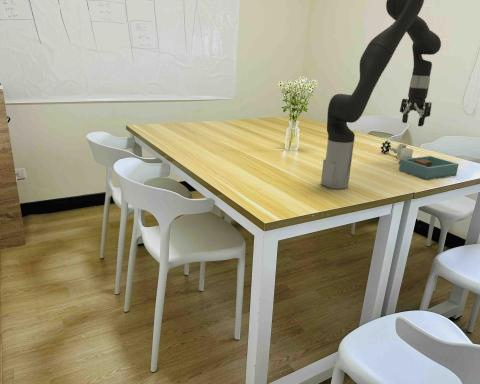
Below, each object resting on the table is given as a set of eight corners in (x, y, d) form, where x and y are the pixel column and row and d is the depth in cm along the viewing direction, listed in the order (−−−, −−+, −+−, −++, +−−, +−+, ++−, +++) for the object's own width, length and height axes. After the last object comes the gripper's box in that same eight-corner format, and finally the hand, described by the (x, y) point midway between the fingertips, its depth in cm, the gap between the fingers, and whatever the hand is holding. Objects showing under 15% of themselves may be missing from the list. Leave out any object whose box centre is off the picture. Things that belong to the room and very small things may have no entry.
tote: (426, 180, 155) (428, 168, 153) (398, 170, 167) (400, 159, 165) (456, 175, 162) (458, 163, 161) (428, 166, 174) (430, 155, 172)
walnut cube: (421, 174, 159) (424, 162, 158) (412, 171, 163) (414, 159, 162) (430, 173, 161) (432, 161, 160) (420, 170, 166) (422, 158, 164)
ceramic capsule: (404, 166, 174) (407, 150, 172) (396, 163, 178) (398, 148, 176) (412, 165, 176) (415, 150, 174) (404, 162, 180) (406, 147, 178)
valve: (408, 158, 188) (388, 152, 198) (410, 145, 186) (390, 140, 195) (399, 159, 185) (379, 154, 194) (401, 146, 182) (381, 141, 192)
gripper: (399, 85, 170) (393, 122, 175) (426, 88, 158) (419, 127, 163) (412, 85, 173) (405, 121, 178) (439, 88, 161) (431, 126, 166)
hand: (412, 124), depth 171 cm, fingers open, 8 cm apart
